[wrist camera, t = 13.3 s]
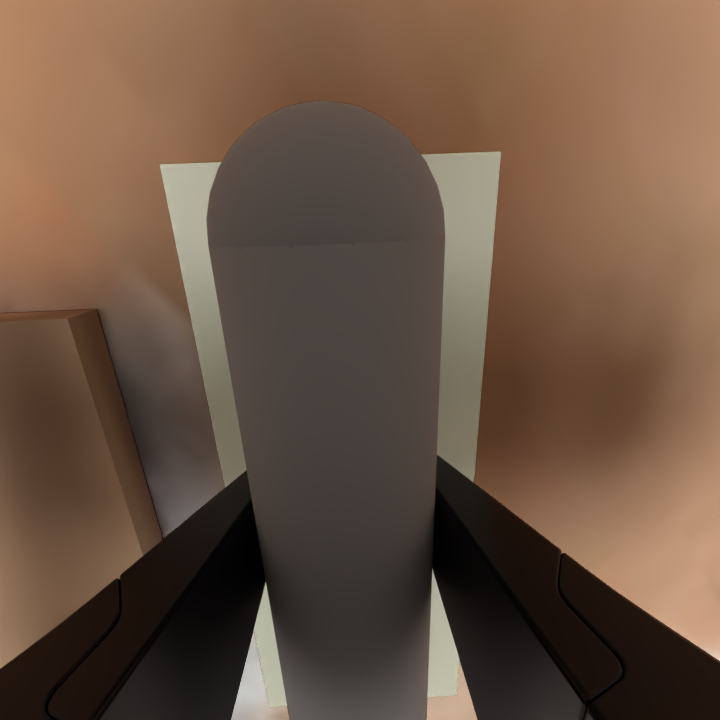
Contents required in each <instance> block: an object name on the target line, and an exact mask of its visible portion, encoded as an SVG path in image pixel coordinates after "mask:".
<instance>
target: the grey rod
mask: <svg viewBox="0 0 720 720" xmlns="http://www.w3.org/2000/svg"><path fill="white" fill-rule="evenodd" d="M206 222H207V236H208V248H209V254H210V259H211V265H212V271H213V277H214V283H215V289H216V294H217V300H218V306H219V312H220V318H221V323H222V329H223V335H224V341H225V347H226V353H227V358H228V364H229V370H230V376H231V382H232V388H233V393H234V399H235V405H236V411H237V417H238V422H239V428H240V434H241V440H242V446H243V452H244V457H245V463H246V469H247V475H248V481H249V487H250V492H251V498H252V504H253V510H254V516H255V521H256V527H257V533H258V539H259V545H260V551H261V556H262V562H263V568H264V574H265V580H266V586H267V591H268V597H269V603H270V609H271V615H272V620H273V626H274V632H275V638H276V644H277V650H278V655H279V661H280V667H281V673H282V679H283V685H284V690H285V696H286V702H287V708H288V714H289V719H290V720H426V719H427V693H428V668H429V642H430V616H431V591H432V565H433V540H434V514H435V489H436V463H437V437H438V412H439V386H440V361H441V335H442V310H443V284H444V258H445V222H444V209H443V205H442V201H441V197H440V193H439V189H438V185H437V183H436V181H435V179H434V177H433V175H432V173H431V171H430V168H429V166H428V164H427V162H426V161H425V159H424V158H423V156H422V155H421V154H420V153H419V151H418V150H417V149H416V147H415V146H414V145H413V143H412V142H411V141H410V139H409V138H408V137H407V136H406V135H404V134H403V133H402V132H401V131H400V130H398V129H397V128H396V127H395V126H394V125H393V124H391V123H390V122H389V121H387V120H386V119H384V118H382V117H380V116H378V115H376V114H374V113H372V112H370V111H368V110H366V109H364V108H362V107H359V106H356V105H351V104H346V103H339V102H332V101H311V102H305V103H300V104H295V105H290V106H286V107H283V108H281V109H279V110H277V111H275V112H273V113H271V114H269V115H268V116H266V117H264V118H262V119H261V120H259V121H257V122H255V123H254V124H253V125H252V126H251V127H250V128H249V129H248V130H247V131H246V132H245V133H244V134H243V135H242V136H241V137H240V138H239V139H238V140H237V141H236V142H235V143H234V144H233V145H232V147H231V148H230V150H229V151H228V153H227V154H226V156H225V158H224V159H223V161H222V162H221V164H220V166H219V168H218V170H217V173H216V176H215V179H214V182H213V184H212V187H211V190H210V194H209V202H208V209H207V217H206Z"/></svg>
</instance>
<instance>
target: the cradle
mask: <svg viewBox="0 0 720 720" xmlns="http://www.w3.org/2000/svg"><path fill="white" fill-rule="evenodd" d="M161 540H163V538H162V534H161V531H160V528H159V524H158V521H157V517H156V514H155V510H154V507H153V503H152V500H151V496H150V493H149V490H148V486H147V483H146V479H145V476H144V472H143V469H142V465H141V462H140V458H139V455H138V452H137V448H136V445H135V441H134V438H133V434H132V431H131V427H130V424H129V420H128V417H127V414H126V410H125V407H124V403H123V400H122V396H121V393H120V389H119V386H118V382H117V379H116V376H115V372H114V369H113V365H112V362H111V358H110V355H109V351H108V348H107V344H106V341H105V337H104V334H103V331H102V327H101V324H100V320H99V317H98V313H97V310H96V309H85V310H63V311H40V312H18V313H0V668H2V667H3V666H4V665H6V664H7V663H9V662H10V661H11V660H13V659H14V658H15V657H17V656H18V655H19V654H21V653H22V652H23V651H25V650H26V649H27V648H29V647H30V646H31V645H33V644H34V643H35V642H36V641H38V640H39V639H40V638H42V637H43V636H44V635H46V634H47V633H48V632H50V631H51V630H52V629H54V628H55V627H56V626H58V625H59V624H60V623H61V622H63V621H64V620H65V619H66V618H68V617H69V616H70V615H71V614H73V613H74V612H75V611H76V610H78V609H79V608H80V607H81V606H83V605H84V604H85V603H86V602H88V601H89V600H90V599H91V598H93V597H94V596H95V595H96V594H97V593H99V592H100V591H101V590H102V589H104V588H105V587H106V586H107V585H108V584H110V583H111V582H112V581H113V580H114V579H116V578H118V579H119V577H120V575H121V574H122V573H123V572H124V571H125V570H127V569H128V568H129V567H130V566H131V565H133V564H134V563H135V562H136V561H137V560H139V559H140V558H141V557H142V556H143V555H145V554H146V553H147V552H148V551H149V550H151V549H152V548H153V547H154V546H155V545H157V544H158V543H159V542H160V541H161ZM119 580H120V579H119Z"/></svg>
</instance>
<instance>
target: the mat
mask: <svg viewBox="0 0 720 720" xmlns="http://www.w3.org/2000/svg"><path fill="white" fill-rule="evenodd" d="M421 155H422V156H423V158H424V159H425V161H426V162H427V164H428V166H429V168H430V171H431V173H432V175H433V177H434V179H435V181H436V183H437V185H438V189H439V193H440V197H441V201H442V205H443V209H444V222H445V258H444V284H443V310H442V335H441V361H440V386H439V412H438V437H437V455H438V456H440V457H441V458H443V459H444V460H445V461H446V462H448V463H449V464H450V465H452V466H453V467H454V468H456V469H457V470H458V471H459V472H461V473H462V474H463V475H465V476H466V477H467V478H468V479H470V480H471V481H472V482H474V475H475V463H476V451H477V439H478V427H479V414H480V402H481V390H482V378H483V366H484V354H485V341H486V329H487V317H488V305H489V293H490V280H491V268H492V256H493V244H494V232H495V219H496V207H497V195H498V183H499V171H500V158H501V151H498V152H472V153H446V154H421ZM220 164H221V162H211V163H185V164H160V169H161V173H162V178H163V183H164V188H165V193H166V198H167V203H168V208H169V213H170V218H171V223H172V228H173V233H174V238H175V243H176V248H177V253H178V258H179V263H180V268H181V273H182V278H183V283H184V288H185V293H186V297H187V302H188V307H189V312H190V317H191V322H192V327H193V332H194V337H195V342H196V347H197V352H198V357H199V362H200V367H201V372H202V377H203V382H204V387H205V392H206V397H207V402H208V407H209V412H210V416H211V421H212V426H213V431H214V436H215V441H216V446H217V451H218V456H219V461H220V466H221V471H222V476H223V481H224V486H225V487H226V486H228V485H229V484H230V483H231V482H232V481H234V480H235V479H236V478H237V477H238V476H240V475H241V474H242V473H243V472H244V471H246V470H247V469H246V463H245V457H244V452H243V446H242V440H241V434H240V428H239V422H238V417H237V411H236V405H235V399H234V393H233V388H232V382H231V376H230V370H229V364H228V358H227V353H226V347H225V341H224V335H223V329H222V323H221V318H220V312H219V306H218V300H217V294H216V289H215V283H214V277H213V271H212V265H211V259H210V254H209V248H208V236H207V222H206V217H207V209H208V202H209V194H210V190H211V187H212V184H213V182H214V179H215V176H216V173H217V170H218V168H219V166H220ZM254 635H255V640H256V645H257V650H258V655H259V660H260V664H261V669H262V674H263V679H264V684H265V689H266V694H267V699H268V704H269V707H281V706H287V702H286V696H285V690H284V685H283V679H282V673H281V667H280V661H279V655H278V650H277V644H276V638H275V632H274V626H273V620H272V615H271V609H270V603H269V597H268V591H267V586H266V583H265V587H264V591H263V595H262V599H261V603H260V607H259V611H258V615H257V618H256V622H255V626H254ZM458 671H459V656H458V652H457V649H456V646H455V643H454V639H453V636H452V633H451V629H450V626H449V623H448V619H447V616H446V613H445V609H444V606H443V603H442V599H441V596H440V593H439V589H438V586H437V583H436V580H435V576H434V573H433V569H432V591H431V616H430V642H429V668H428V693H427V697H438V696H454V695H457V683H458Z"/></svg>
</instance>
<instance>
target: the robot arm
mask: <svg viewBox="0 0 720 720" xmlns="http://www.w3.org/2000/svg"><path fill="white" fill-rule="evenodd" d="M561 554H562V555H561ZM432 569H433V573H434V576H435V580H436V583H437V586H438V589H439V593H440V596H441V599H442V603H443V606H444V609H445V613H446V616H447V619H448V623H449V626H450V629H451V633H452V636H453V639H454V643H455V646H456V649H457V652H458V656H459V659H460V662H461V666H462V669H463V672H464V676H465V679H466V682H467V686H468V689H469V692H470V696H471V699H472V702H473V706H474V709H475V712H476V716H477V719H478V720H720V661H719V660H717V659H716V658H714V657H713V656H711V655H710V654H708V653H707V652H705V651H704V650H702V649H701V648H699V647H698V646H696V645H695V644H693V643H692V642H690V641H689V640H687V639H686V638H684V637H683V636H681V635H680V634H678V633H677V632H675V631H674V630H672V629H671V628H669V627H668V626H666V625H665V624H663V623H662V622H660V621H659V620H657V619H656V618H654V617H653V616H651V615H650V614H648V613H647V612H645V611H644V610H643V609H641V608H640V607H638V606H637V605H635V604H634V603H632V602H631V601H630V600H628V599H627V598H625V597H624V596H622V595H621V594H619V593H618V592H616V591H615V590H614V589H612V588H611V587H610V586H608V585H607V584H606V583H604V582H603V581H602V580H600V579H599V578H597V577H596V576H595V575H593V574H592V573H591V572H589V571H588V570H587V569H585V568H584V567H583V566H581V565H580V564H579V563H578V562H576V561H575V560H574V559H572V558H571V557H570V556H568V555H567V554H566V553H562V552H561V550H560V549H559V548H558V547H557V546H555V545H554V544H553V543H551V542H550V541H549V540H547V539H546V538H545V537H544V536H542V535H541V534H540V533H538V532H537V531H536V530H535V529H533V528H532V527H531V526H529V525H528V524H527V523H525V522H524V521H523V520H522V519H520V518H519V517H518V516H516V515H515V514H514V513H513V512H511V511H510V510H509V509H507V508H506V507H505V506H503V505H502V504H501V503H500V502H498V501H497V500H496V499H494V498H493V497H492V496H490V495H489V494H488V493H487V492H485V491H484V490H483V489H481V488H480V487H479V486H478V485H476V484H475V483H474V482H472V481H471V480H470V479H468V478H467V477H466V476H465V475H463V474H462V473H461V472H459V471H458V470H457V469H456V468H454V467H453V466H452V465H450V464H449V463H448V462H446V461H445V460H444V459H443V458H441V457H440V456H438V455H437V463H436V489H435V514H434V540H433V565H432ZM119 579H120V580H119ZM119 579H118V578H116V579H114V580H113V581H112V582H111V583H110V584H108V585H107V586H106V587H105V588H104V589H102V590H101V591H100V592H99V593H97V594H96V595H95V596H94V597H93V598H91V599H90V600H89V601H88V602H86V603H85V604H84V605H83V606H81V607H80V608H79V609H78V610H76V611H75V612H74V613H73V614H71V615H70V616H69V617H68V618H66V619H65V620H64V621H63V622H61V623H60V624H59V625H58V626H56V627H55V628H54V629H52V630H51V631H50V632H48V633H47V634H46V635H44V636H43V637H42V638H40V639H39V640H38V641H36V642H35V643H34V644H33V645H31V646H30V647H29V648H27V649H26V650H25V651H23V652H22V653H21V654H19V655H18V656H17V657H15V658H14V659H13V660H11V661H10V662H9V663H7V664H6V665H4V666H3V667H2V668H0V720H231V717H232V713H233V709H234V705H235V701H236V698H237V694H238V690H239V686H240V682H241V678H242V674H243V670H244V666H245V662H246V658H247V654H248V650H249V646H250V642H251V638H252V634H253V630H254V626H255V622H256V618H257V615H258V611H259V607H260V603H261V599H262V595H263V591H264V587H265V583H266V580H265V574H264V568H263V562H262V556H261V551H260V545H259V539H258V533H257V527H256V521H255V516H254V510H253V504H252V498H251V492H250V487H249V481H248V475H247V470H246V471H244V472H243V473H242V474H241V475H240V476H238V477H237V478H236V479H235V480H234V481H232V482H231V483H230V484H229V485H228V486H226V487H225V488H224V489H223V490H222V491H220V492H219V493H218V494H217V495H216V496H214V497H213V498H212V499H211V500H210V501H208V502H207V503H206V504H205V505H204V506H202V507H201V508H200V509H199V510H198V511H196V512H195V513H194V514H193V515H192V516H190V517H189V518H188V519H187V520H186V521H184V522H183V523H182V524H181V525H180V526H178V527H177V528H176V529H175V530H174V531H172V532H171V533H170V534H169V535H167V536H166V537H165V538H164V539H163V540H161V541H160V542H159V543H158V544H157V545H155V546H154V547H153V548H152V549H151V550H149V551H148V552H147V553H146V554H145V555H143V556H142V557H141V558H140V559H139V560H137V561H136V562H135V563H134V564H133V565H131V566H130V567H129V568H128V569H127V570H125V571H124V572H123V573H122V574H121V575H120V577H119Z"/></svg>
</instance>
